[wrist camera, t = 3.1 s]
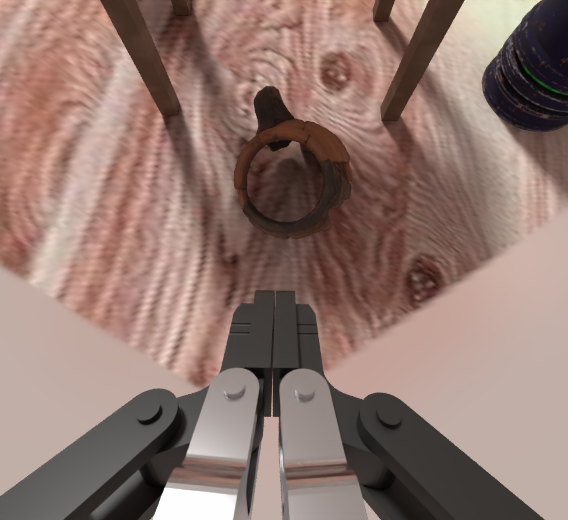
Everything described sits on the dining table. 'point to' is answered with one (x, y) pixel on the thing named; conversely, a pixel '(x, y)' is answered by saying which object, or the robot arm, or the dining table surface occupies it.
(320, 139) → the pottery mug
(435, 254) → the dining table surface
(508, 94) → the dark blue cylinder
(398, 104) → the wooden side table
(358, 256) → the dining table surface
